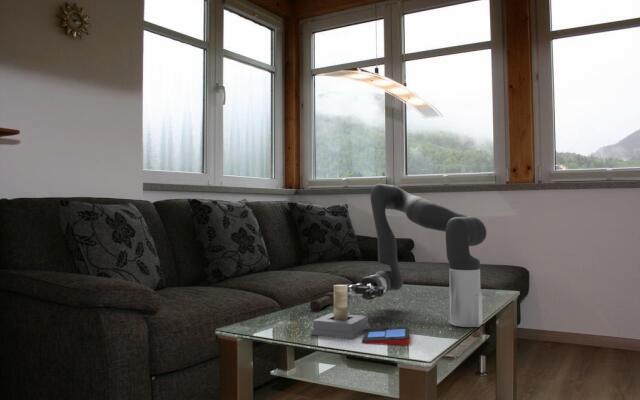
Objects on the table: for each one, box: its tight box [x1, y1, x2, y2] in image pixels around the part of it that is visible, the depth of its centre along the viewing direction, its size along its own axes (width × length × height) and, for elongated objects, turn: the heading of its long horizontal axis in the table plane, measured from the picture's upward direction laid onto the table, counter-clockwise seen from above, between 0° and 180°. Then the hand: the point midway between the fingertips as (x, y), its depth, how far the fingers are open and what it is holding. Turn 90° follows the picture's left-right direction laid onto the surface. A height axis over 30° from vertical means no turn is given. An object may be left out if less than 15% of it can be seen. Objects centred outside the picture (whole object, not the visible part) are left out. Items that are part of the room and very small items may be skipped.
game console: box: [361, 326, 411, 346], centre depth 146 cm, size 14×13×2 cm
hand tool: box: [309, 291, 334, 312], centre depth 195 cm, size 19×4×5 cm, turn 155°
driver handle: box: [333, 284, 349, 321], centre depth 154 cm, size 4×4×12 cm
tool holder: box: [310, 312, 371, 340], centre depth 154 cm, size 13×13×4 cm
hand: (353, 293), depth 163 cm, fingers open, 8 cm apart
